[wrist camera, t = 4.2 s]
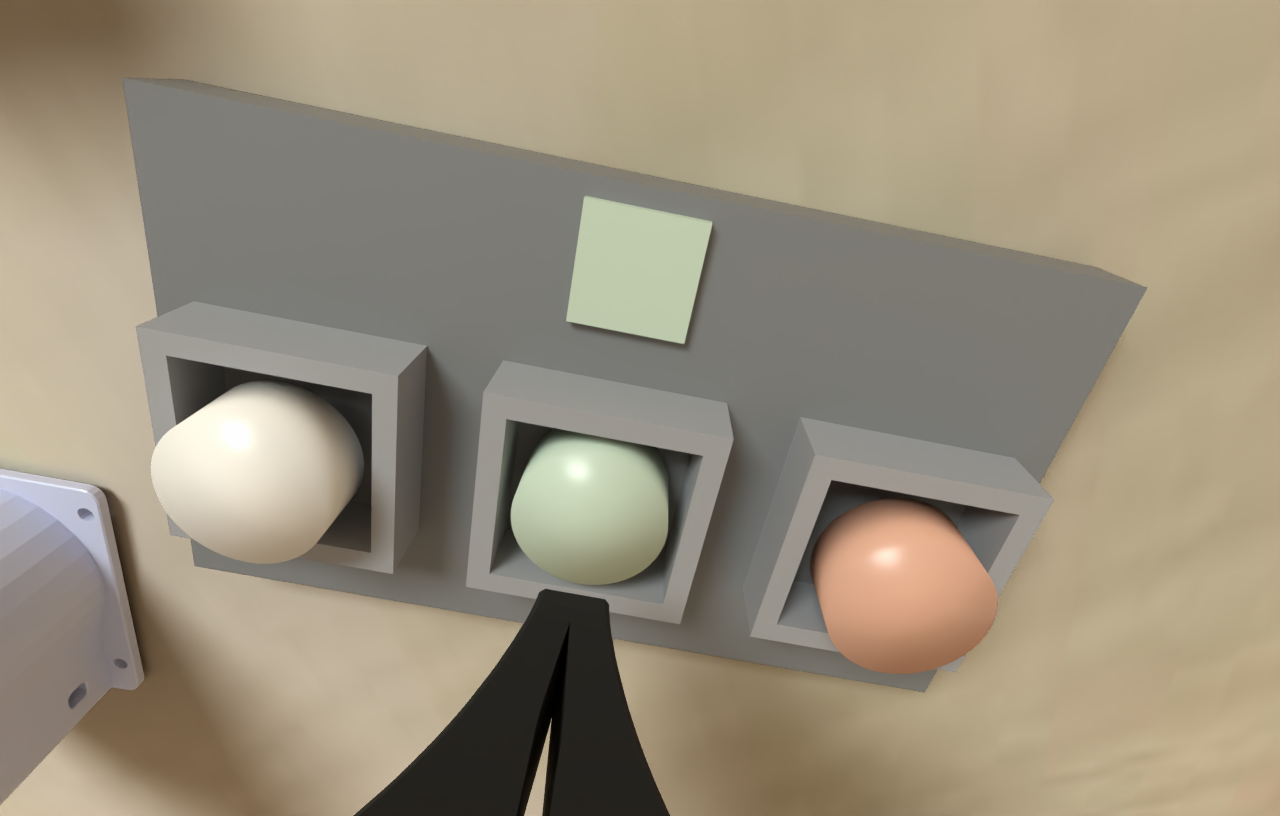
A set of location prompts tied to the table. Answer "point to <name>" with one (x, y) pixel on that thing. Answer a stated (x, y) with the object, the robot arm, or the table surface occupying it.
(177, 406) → the button board
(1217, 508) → the table surface
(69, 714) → the robot arm
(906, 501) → the terracotta button
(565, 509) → the sage green button
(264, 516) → the off-white button
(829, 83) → the table surface
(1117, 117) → the table surface
